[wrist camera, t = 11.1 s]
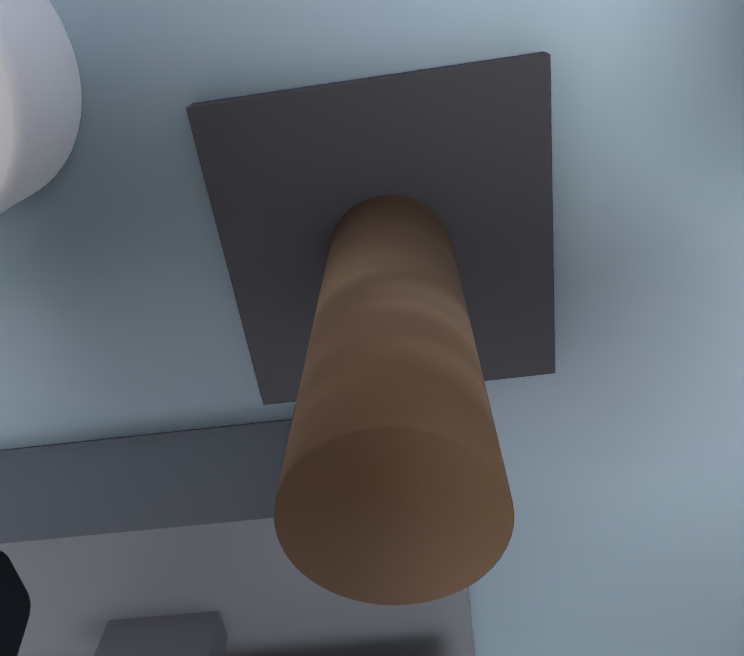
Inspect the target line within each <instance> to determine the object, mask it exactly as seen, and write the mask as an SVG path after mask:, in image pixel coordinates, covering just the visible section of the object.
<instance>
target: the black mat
mask: <svg viewBox="0 0 744 656" xmlns="http://www.w3.org/2000/svg"><path fill="white" fill-rule="evenodd" d="M186 109H187V113H188V117H189V121H190V125H191V129H192V132H193V136H194V140H195V144H196V148H197V152H198V155H199V159H200V163H201V167H202V171H203V175H204V179H205V182H206V186H207V190H208V194H209V198H210V202H211V205H212V209H213V213H214V217H215V221H216V225H217V228H218V232H219V236H220V240H221V244H222V248H223V252H224V255H225V259H226V263H227V267H228V271H229V275H230V278H231V282H232V286H233V290H234V294H235V298H236V301H237V305H238V309H239V313H240V317H241V321H242V325H243V328H244V332H245V336H246V340H247V344H248V348H249V351H250V355H251V359H252V363H253V367H254V371H255V374H256V378H257V382H258V386H259V390H260V394H261V398H262V401H263V405H267V404H277V403H286V402H295V401H297V397H298V392H299V387H300V383H301V378H302V373H303V369H304V364H305V359H306V355H307V350H308V345H309V341H310V336H311V332H312V327H313V322H314V318H315V313H316V308H317V304H318V299H319V294H320V290H321V285H322V280H323V276H324V271H325V266H326V262H327V257H328V252H329V248H330V243H331V239H332V236H333V233H334V231H335V228H336V226H337V225H338V223H339V222H340V220H341V219H342V218H343V216H344V215H345V214H346V213H347V212H348V211H349V210H351V209H352V208H353V207H355V206H356V205H358V204H359V203H361V202H363V201H365V200H368V199H371V198H374V197H378V196H385V195H398V196H404V197H409V198H412V199H415V200H417V201H419V202H421V203H423V204H425V205H426V206H428V207H429V208H430V209H432V210H433V211H434V212H435V213H436V214H437V215H438V216H439V217H440V219H441V220H442V221H443V223H444V225H445V226H446V228H447V230H448V233H449V236H450V239H451V243H452V247H453V252H454V256H455V260H456V264H457V268H458V273H459V277H460V281H461V285H462V290H463V294H464V298H465V302H466V307H467V311H468V315H469V319H470V323H471V328H472V332H473V336H474V340H475V345H476V349H477V353H478V357H479V361H480V366H481V370H482V374H483V378H484V381H487V380H497V379H506V378H515V377H524V376H533V375H543V374H552V373H555V333H554V267H553V202H552V136H551V70H550V54H548V53H546V52H539V53H532V54H525V55H519V56H512V57H505V58H498V59H491V60H485V61H478V62H471V63H464V64H458V65H451V66H444V67H437V68H430V69H424V70H417V71H410V72H403V73H397V74H390V75H383V76H376V77H370V78H363V79H356V80H349V81H342V82H336V83H329V84H322V85H315V86H309V87H302V88H295V89H288V90H281V91H275V92H268V93H261V94H254V95H248V96H241V97H234V98H227V99H220V100H214V101H207V102H200V103H193V104H192V105H190V106H188V107H187V108H186Z"/></svg>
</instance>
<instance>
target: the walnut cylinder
mask: <svg viewBox="0 0 744 656" xmlns="http://www.w3.org/2000/svg"><path fill="white" fill-rule="evenodd" d="M274 526H275V531H276V535H277V538H278V540H279V543H280V545H281V547H282V549H283V551H284V552H285V554H286V556H287V557H288V558H289V560H290V561H291V562H292V564H293V565H294V566H295V567H296V568H297V569H298V570H299V571H300V572H301V573H302V574H303V575H305V576H306V577H307V578H309V579H310V580H311V581H312V582H314V583H316V584H317V585H319V586H321V587H322V588H324V589H326V590H328V591H330V592H332V593H335V594H337V595H340V596H342V597H345V598H348V599H351V600H355V601H360V602H364V603H370V604H377V605H392V606H393V605H411V604H419V603H425V602H429V601H434V600H437V599H441V598H444V597H447V596H450V595H452V594H454V593H457V592H459V591H461V590H463V589H465V588H466V587H468V586H470V585H472V584H473V583H475V582H476V581H477V580H479V579H480V578H482V577H483V576H484V575H485V574H486V573H487V572H488V571H489V570H491V569H492V568H493V566H494V565H495V564H496V563H497V562H498V560H499V559H500V558H501V556H502V555H503V553H504V551H505V550H506V548H507V546H508V543H509V541H510V538H511V535H512V530H513V526H514V508H513V501H512V497H511V493H510V488H509V484H508V480H507V476H506V471H505V467H504V463H503V459H502V455H501V450H500V446H499V442H498V438H497V433H496V429H495V425H494V421H493V416H492V412H491V408H490V404H489V400H488V395H487V391H486V387H485V383H484V378H483V374H482V370H481V366H480V361H479V357H478V353H477V349H476V345H475V340H474V336H473V332H472V328H471V323H470V319H469V315H468V311H467V307H466V302H465V298H464V294H463V290H462V285H461V281H460V277H459V273H458V268H457V264H456V260H455V256H454V252H453V247H452V243H451V239H450V236H449V233H448V230H447V228H446V226H445V225H444V223H443V221H442V220H441V219H440V217H439V216H438V215H437V214H436V213H435V212H434V211H433V210H432V209H430V208H429V207H428V206H426V205H425V204H423V203H421V202H419V201H417V200H415V199H412V198H409V197H404V196H398V195H385V196H378V197H374V198H371V199H368V200H365V201H363V202H361V203H359V204H358V205H356V206H355V207H353V208H352V209H351V210H349V211H348V212H347V213H346V214H345V215H344V216H343V218H342V219H341V220H340V222H339V223H338V225H337V226H336V228H335V231H334V233H333V236H332V239H331V243H330V248H329V252H328V257H327V262H326V266H325V271H324V276H323V280H322V285H321V290H320V294H319V299H318V304H317V308H316V313H315V318H314V322H313V327H312V332H311V336H310V341H309V345H308V350H307V355H306V359H305V364H304V369H303V373H302V378H301V383H300V387H299V392H298V397H297V401H296V406H295V411H294V415H293V420H292V425H291V429H290V434H289V439H288V443H287V448H286V453H285V457H284V462H283V467H282V471H281V476H280V481H279V485H278V490H277V495H276V499H275V506H274Z"/></svg>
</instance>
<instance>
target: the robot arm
mask: <svg viewBox="0 0 744 656" xmlns="http://www.w3.org/2000/svg"><path fill="white" fill-rule="evenodd" d="M30 609H31V602H30V597H29V594H28V591H27V590H26V588H25V586H24V584H23V582H22V580H21V579H20V577H19V575H18V573H17V571H16V569H15V568H14V566H13V564H12V562H11V560H10V558H9V557H8V555H7V554H5V553H4V552H3V551H1V550H0V656H18V653H19V649H20V646H21V643H22V639H23V636H24V633H25V630H26V626H27V623H28V620H29V616H30Z"/></svg>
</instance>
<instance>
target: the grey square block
mask: <svg viewBox="0 0 744 656" xmlns="http://www.w3.org/2000/svg"><path fill="white" fill-rule="evenodd" d="M291 425H292V420H283V421H274V422H265V423H255V424H246V425H237V426H227V427H218V428H209V429H199V430H190V431H180V432H171V433H162V434H152V435H143V436H134V437H124V438H115V439H106V440H96V441H87V442H78V443H68V444H59V445H49V446H40V447H31V448H21V449H12V450H3V451H0V550H1V551H3V552H4V553H5V554H7V555H8V557H9V558H10V560H11V562H12V564H13V566H14V568H15V569H16V571H17V573H18V575H19V577H20V579H21V580H22V582H23V584H24V586H25V588H26V590H27V591H28V594H29V597H30V602H31V609H30V616H29V620H28V623H27V626H26V630H25V633H24V636H23V639H22V643H21V646H20V649H19V653H18V656H475V652H474V642H473V633H472V623H471V614H470V604H469V594H468V587H466V588H465V589H463V590H461V591H459V592H457V593H454V594H452V595H450V596H447V597H444V598H441V599H437V600H434V601H429V602H425V603H419V604H411V605H393V606H392V605H377V604H370V603H364V602H360V601H355V600H351V599H348V598H345V597H342V596H340V595H337V594H335V593H332V592H330V591H328V590H326V589H324V588H322V587H321V586H319V585H317V584H316V583H314V582H312V581H311V580H310V579H309V578H307V577H306V576H305V575H303V574H302V573H301V572H300V571H299V570H298V569H297V568H296V567H295V566H294V565H293V564H292V562H291V561H290V560H289V558H288V557H287V556H286V554H285V552H284V551H283V549H282V547H281V545H280V543H279V540H278V538H277V535H276V531H275V526H274V506H275V499H276V495H277V490H278V485H279V481H280V476H281V471H282V467H283V462H284V457H285V453H286V448H287V443H288V439H289V434H290V429H291Z"/></svg>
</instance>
